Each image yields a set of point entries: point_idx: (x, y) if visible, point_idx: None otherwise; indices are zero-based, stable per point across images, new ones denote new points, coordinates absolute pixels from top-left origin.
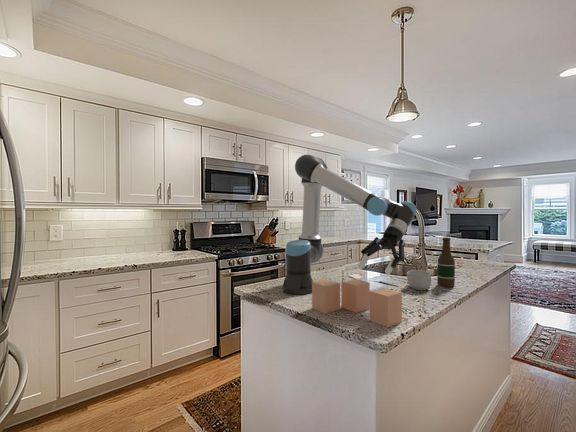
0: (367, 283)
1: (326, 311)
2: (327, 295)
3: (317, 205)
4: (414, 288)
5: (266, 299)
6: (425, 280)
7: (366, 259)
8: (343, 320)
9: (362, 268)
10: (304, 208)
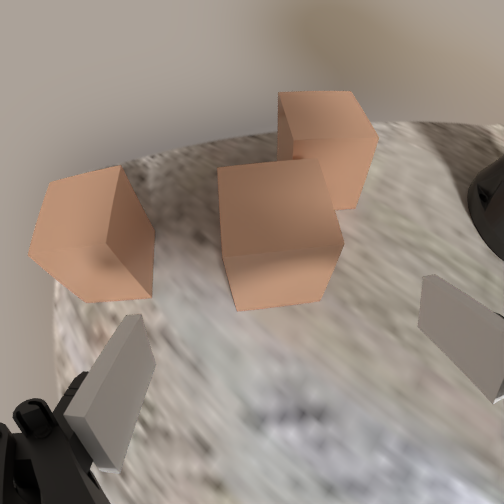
0: (222, 242)
1: None
2: (279, 127)
3: None
4: None
5: (435, 123)
6: None
7: (479, 364)
8: (203, 175)
9: (424, 328)
10: None
